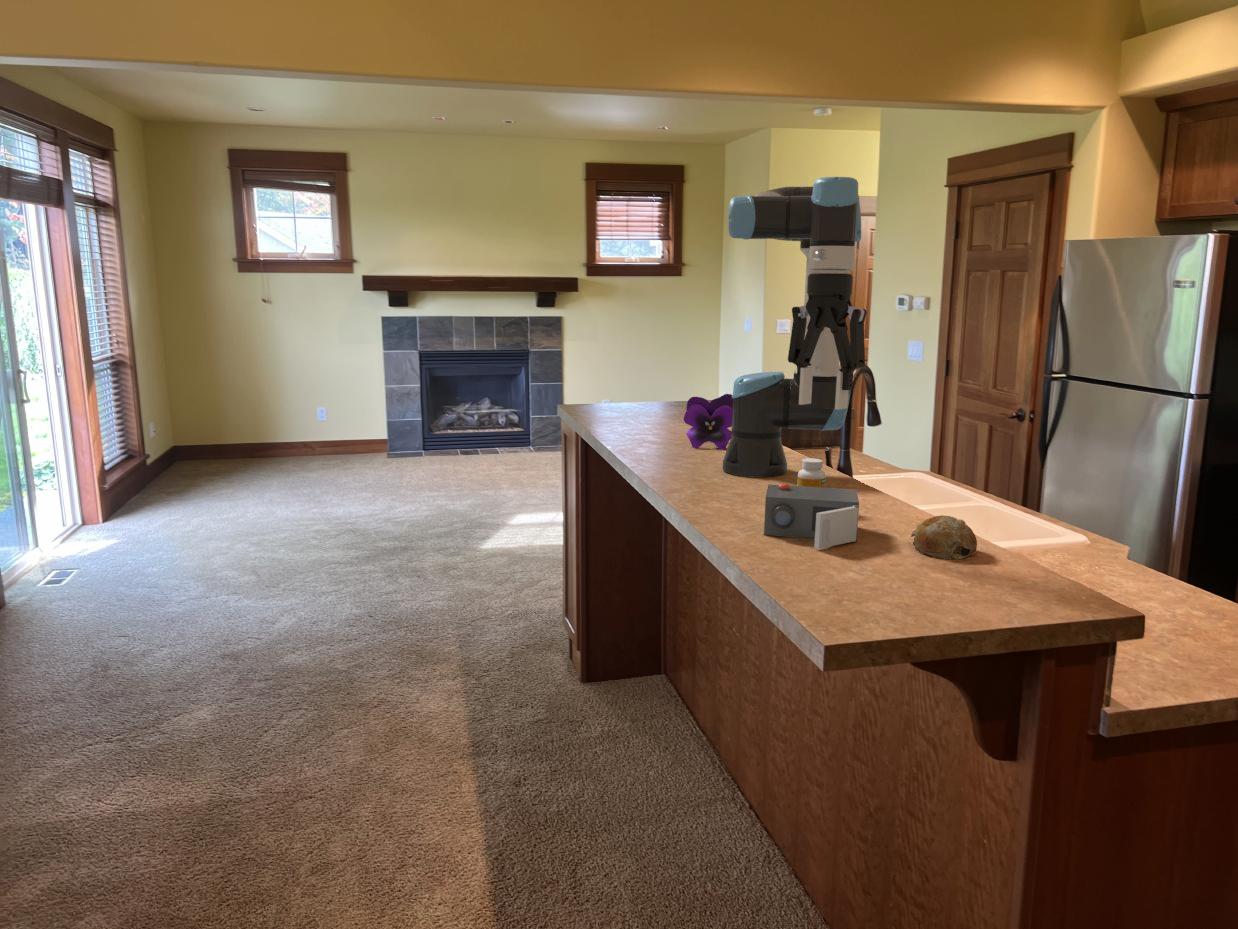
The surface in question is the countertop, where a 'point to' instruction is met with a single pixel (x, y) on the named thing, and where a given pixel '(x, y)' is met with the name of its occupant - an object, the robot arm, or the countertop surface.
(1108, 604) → the countertop surface
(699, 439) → the flower
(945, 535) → the bread roll
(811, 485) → the supplement bottle
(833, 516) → the side door
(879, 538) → the countertop surface
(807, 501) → the box with round dial
